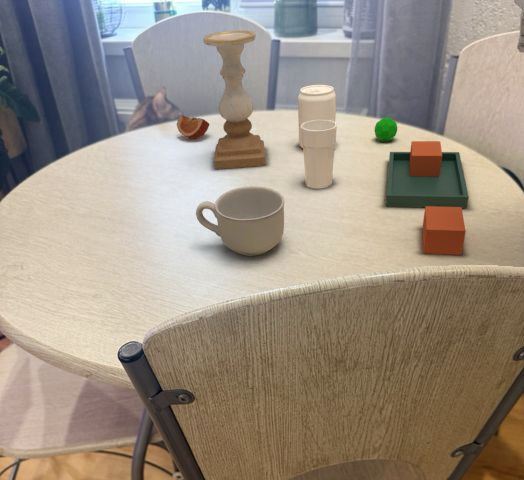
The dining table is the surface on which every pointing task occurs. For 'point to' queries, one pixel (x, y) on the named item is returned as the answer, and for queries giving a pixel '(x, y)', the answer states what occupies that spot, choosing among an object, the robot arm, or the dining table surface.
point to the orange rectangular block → (425, 158)
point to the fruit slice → (192, 127)
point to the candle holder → (235, 105)
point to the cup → (318, 152)
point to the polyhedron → (386, 129)
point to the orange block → (443, 230)
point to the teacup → (247, 219)
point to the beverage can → (316, 105)
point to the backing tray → (426, 183)
